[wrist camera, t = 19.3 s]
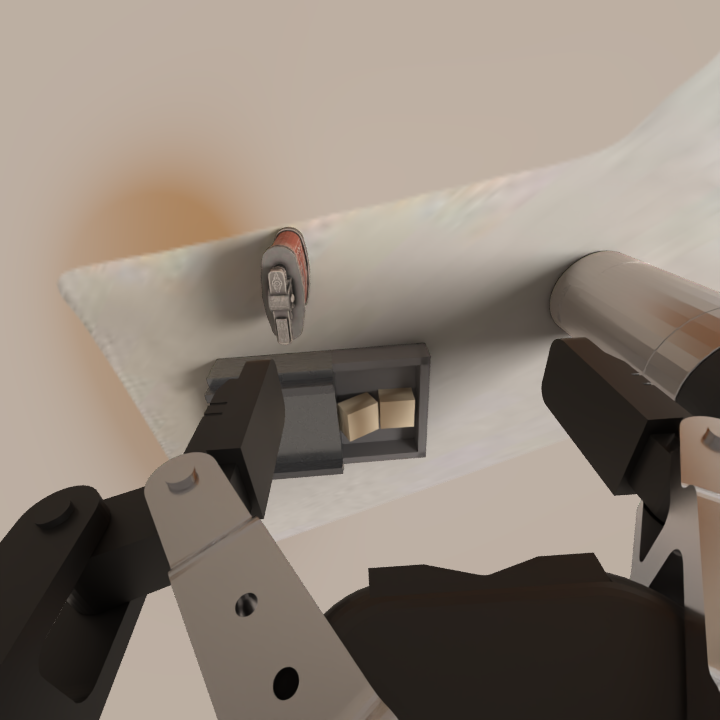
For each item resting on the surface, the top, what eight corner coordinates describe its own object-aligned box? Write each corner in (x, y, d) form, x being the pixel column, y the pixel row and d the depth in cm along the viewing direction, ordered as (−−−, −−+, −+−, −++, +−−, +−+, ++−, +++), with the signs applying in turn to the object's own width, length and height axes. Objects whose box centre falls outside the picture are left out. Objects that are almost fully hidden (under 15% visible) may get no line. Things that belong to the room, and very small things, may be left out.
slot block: (332, 350, 41) (331, 377, 37) (343, 446, 49) (344, 479, 44) (217, 359, 41) (201, 387, 36) (246, 454, 49) (236, 488, 44)
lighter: (270, 227, 34) (247, 256, 26) (306, 226, 34) (296, 255, 26) (280, 307, 38) (264, 355, 30) (312, 306, 38) (305, 353, 30)
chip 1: (366, 391, 44) (377, 402, 42) (368, 417, 46) (379, 428, 44) (337, 403, 42) (347, 415, 40) (340, 429, 44) (350, 441, 42)
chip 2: (380, 402, 42) (378, 389, 44) (380, 428, 44) (378, 415, 46) (414, 399, 42) (411, 387, 44) (413, 426, 44) (410, 413, 46)
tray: (424, 343, 41) (430, 356, 39) (421, 440, 49) (425, 457, 47) (332, 350, 41) (332, 364, 39) (343, 446, 49) (343, 463, 46)
